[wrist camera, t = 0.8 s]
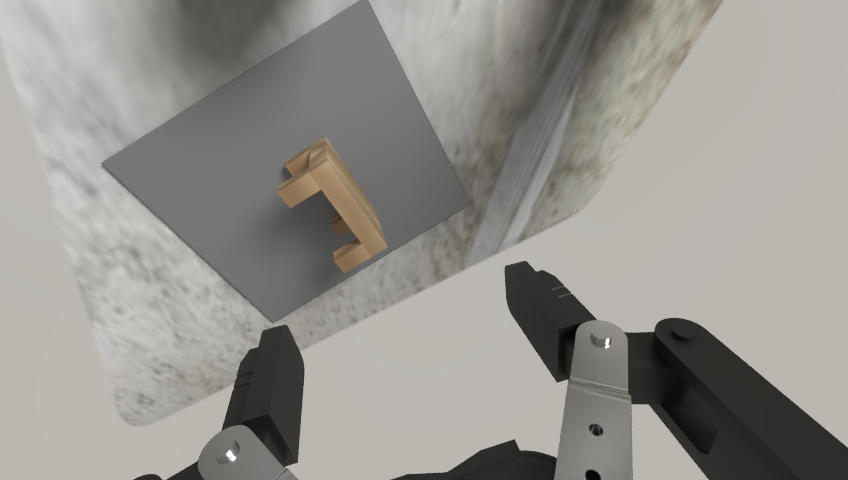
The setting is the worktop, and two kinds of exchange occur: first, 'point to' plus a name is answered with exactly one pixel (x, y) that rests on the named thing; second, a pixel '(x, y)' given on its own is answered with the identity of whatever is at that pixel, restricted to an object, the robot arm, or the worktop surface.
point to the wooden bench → (335, 201)
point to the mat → (283, 139)
